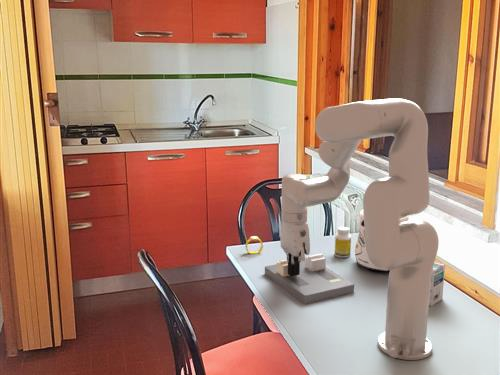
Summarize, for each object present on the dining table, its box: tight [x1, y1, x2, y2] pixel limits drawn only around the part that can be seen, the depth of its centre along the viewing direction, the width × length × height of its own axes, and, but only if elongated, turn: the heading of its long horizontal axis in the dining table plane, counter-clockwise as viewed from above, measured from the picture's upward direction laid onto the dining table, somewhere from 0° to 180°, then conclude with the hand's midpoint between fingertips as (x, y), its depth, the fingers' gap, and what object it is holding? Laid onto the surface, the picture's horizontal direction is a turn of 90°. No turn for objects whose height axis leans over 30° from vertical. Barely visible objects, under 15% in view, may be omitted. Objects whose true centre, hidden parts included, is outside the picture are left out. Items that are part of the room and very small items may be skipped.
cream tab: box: [276, 258, 290, 277], centre depth 172 cm, size 4×5×4 cm
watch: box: [245, 235, 264, 255], centre depth 196 cm, size 6×3×6 cm, turn 102°
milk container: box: [354, 209, 409, 272], centre depth 183 cm, size 17×17×18 cm
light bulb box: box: [429, 261, 446, 307], centre depth 160 cm, size 11×7×11 cm, turn 47°
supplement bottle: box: [334, 226, 352, 259], centre depth 193 cm, size 5×5×10 cm
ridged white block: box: [305, 253, 327, 272], centre depth 176 cm, size 4×5×4 cm
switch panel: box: [264, 261, 355, 305], centre depth 171 cm, size 24×17×2 cm
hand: (293, 274), depth 169 cm, fingers closed
